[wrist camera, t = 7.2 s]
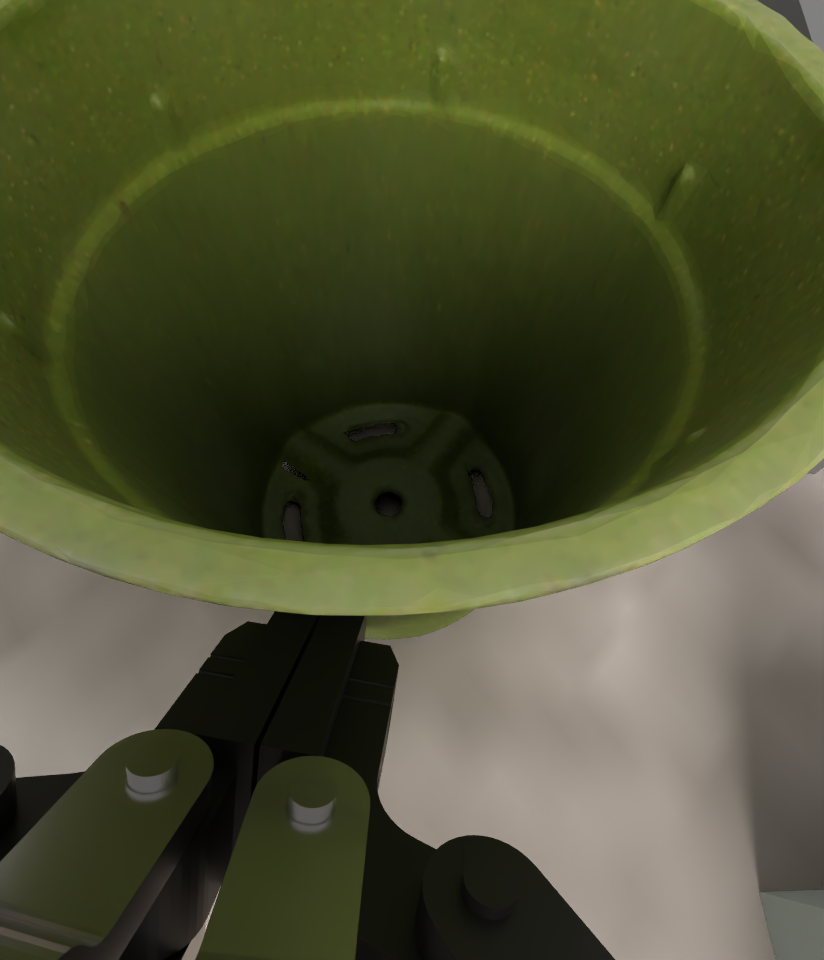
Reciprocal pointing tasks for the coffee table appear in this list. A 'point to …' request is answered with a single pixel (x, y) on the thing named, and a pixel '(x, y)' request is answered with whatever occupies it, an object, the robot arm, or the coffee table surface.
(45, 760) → the coffee table surface
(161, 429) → the plant pot
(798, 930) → the block
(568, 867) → the coffee table surface
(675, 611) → the coffee table surface
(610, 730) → the coffee table surface
